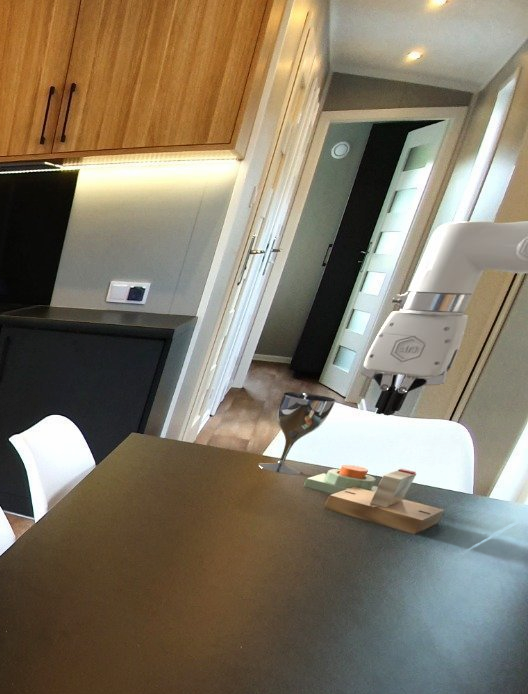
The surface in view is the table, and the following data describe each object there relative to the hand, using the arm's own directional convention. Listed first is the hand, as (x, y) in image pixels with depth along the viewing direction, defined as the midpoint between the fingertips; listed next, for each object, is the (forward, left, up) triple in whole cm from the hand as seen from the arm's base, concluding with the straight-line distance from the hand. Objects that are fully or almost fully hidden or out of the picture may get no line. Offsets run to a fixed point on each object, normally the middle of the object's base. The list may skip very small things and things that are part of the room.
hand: (384, 413), depth 112 cm
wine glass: (+13, -5, -15) cm, 21 cm away
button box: (0, 0, -15) cm, 15 cm away
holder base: (-8, +9, -15) cm, 19 cm away
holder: (-8, +9, -13) cm, 17 cm away
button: (0, 0, -12) cm, 12 cm away
